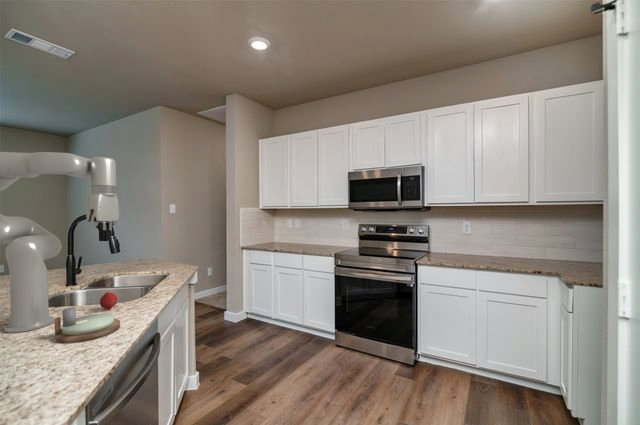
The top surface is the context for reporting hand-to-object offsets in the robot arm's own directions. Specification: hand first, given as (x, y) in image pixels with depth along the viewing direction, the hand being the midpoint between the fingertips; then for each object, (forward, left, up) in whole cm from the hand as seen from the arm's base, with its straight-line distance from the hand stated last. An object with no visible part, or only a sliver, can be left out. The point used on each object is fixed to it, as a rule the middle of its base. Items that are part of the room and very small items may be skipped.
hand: (104, 240), depth 110 cm
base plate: (+4, -11, -29) cm, 31 cm away
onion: (-8, +10, -29) cm, 32 cm away
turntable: (+4, -11, -27) cm, 30 cm away
